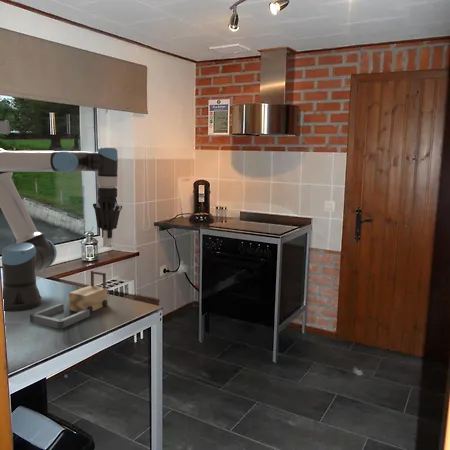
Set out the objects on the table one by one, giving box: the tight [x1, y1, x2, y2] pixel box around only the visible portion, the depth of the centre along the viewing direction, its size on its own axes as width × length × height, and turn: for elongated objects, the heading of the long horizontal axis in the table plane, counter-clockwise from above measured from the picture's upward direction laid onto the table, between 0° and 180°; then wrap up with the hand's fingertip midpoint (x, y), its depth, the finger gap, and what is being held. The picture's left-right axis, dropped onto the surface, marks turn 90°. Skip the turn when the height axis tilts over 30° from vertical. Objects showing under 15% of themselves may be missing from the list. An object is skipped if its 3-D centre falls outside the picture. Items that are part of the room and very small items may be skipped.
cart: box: [68, 270, 108, 314], centre depth 175 cm, size 9×12×13 cm
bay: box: [29, 302, 91, 330], centre depth 163 cm, size 14×14×2 cm
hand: (106, 245), depth 183 cm, fingers closed
